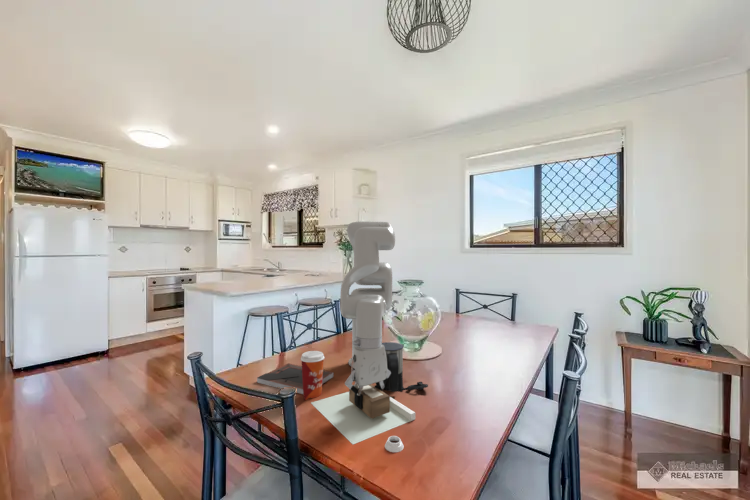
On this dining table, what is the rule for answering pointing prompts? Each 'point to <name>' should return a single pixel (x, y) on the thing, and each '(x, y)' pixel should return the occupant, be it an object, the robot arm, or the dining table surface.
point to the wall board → (361, 417)
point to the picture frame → (288, 377)
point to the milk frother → (397, 369)
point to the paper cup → (312, 373)
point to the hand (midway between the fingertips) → (368, 403)
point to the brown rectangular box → (373, 401)
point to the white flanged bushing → (394, 444)
